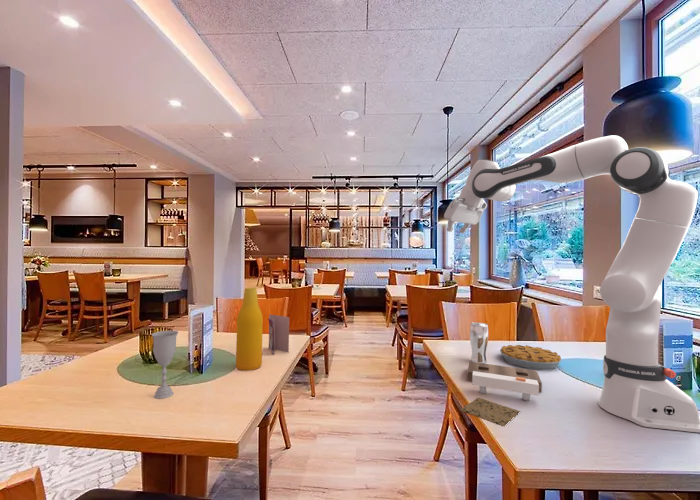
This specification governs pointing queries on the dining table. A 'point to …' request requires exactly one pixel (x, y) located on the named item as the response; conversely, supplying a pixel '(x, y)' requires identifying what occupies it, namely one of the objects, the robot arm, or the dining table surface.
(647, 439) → the dining table surface
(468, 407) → the seeded crispbread
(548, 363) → the pie
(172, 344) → the chalice
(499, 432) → the dining table surface
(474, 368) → the socket board
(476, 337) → the beer glass
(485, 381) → the power strip
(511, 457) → the dining table surface
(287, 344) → the greeting card
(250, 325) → the beer bottle
